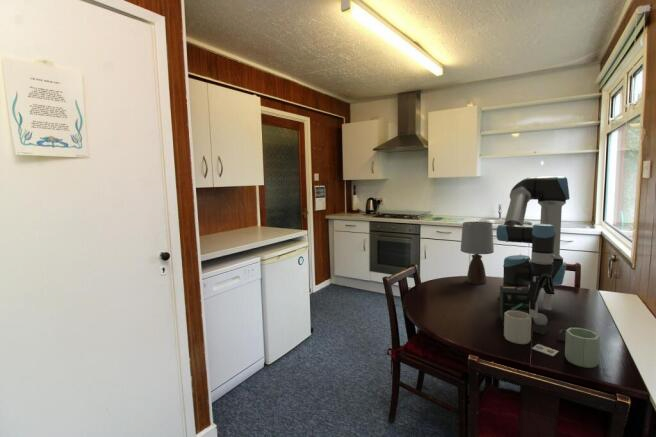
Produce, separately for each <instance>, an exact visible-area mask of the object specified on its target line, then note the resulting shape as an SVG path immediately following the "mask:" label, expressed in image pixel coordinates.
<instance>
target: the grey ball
mask: <svg viewBox="0 0 656 437" xmlns="http://www.w3.org/2000/svg"><path fill="white" fill-rule="evenodd" d="M532 321H533V322H534V323H536V324H537V325H539V326H544V325H548V324H547V323H548V317H547V316H546V314H544V313H540V312H538V314H537V318H533V317H532Z"/></svg>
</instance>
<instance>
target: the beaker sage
mask: <svg viewBox="0 0 656 437" xmlns="http://www.w3.org/2000/svg"><path fill="white" fill-rule="evenodd" d="M565 330H566V338H565V341H564V343H565V344H564V345H565V346H564V357H565V359H566V361H568V363H570V364H573V365H574V366H578V367H581V368H587V369H592V368H596V367H598V364H599V360H600V359H599V358H600V341H601V340H600V337H601V335H599V334H598V333H597V332H595V331H593V330H589V329H586V328H581V327H568V328H567V329H565Z"/></svg>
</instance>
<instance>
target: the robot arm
mask: <svg viewBox="0 0 656 437" xmlns="http://www.w3.org/2000/svg"><path fill="white" fill-rule="evenodd" d="M509 200H510V201H509V205H508V207H507V213H506V216H505V220H504V222H503V224H498V225H497V227H496V233H495V235H496V240H498V241H500V242H506V243H519V244H520V243H524V244H531V257H530V256H529V255H525V254H515V255H509V256H508V255H507V256H506V257H504V259H503V266H502V267H503V278H502V279H503V282H502V286H511V287H527V289H528V290H529V292H528V296H527V300H528V301H530V304H529V315H530V316H531V318H532V319H533V318H537V314H538V313H539V312H538V311H539V309H538V308H539V302H538V299H539V296H540V294H541V290H542V289H543V291H544V293H543V307H542V309H544V310H549V311H551V310H552V297H553V295H554V296H555V287H557V286H561V285H563V282H564V278H565V275H566V274H565V273H566V268H567V262H565V261H564V258H563V257H562V256H561V255H560V253H561V252H560V251H561V232H562V230H561V229H562V212H563V210H562V209H563V206H564V205H566V204H567V201H569V200H570V190H569V180H568V178H567V177H566V176H562V175H561V176H560V175H559V176H558V175H553V176H552V175H551V176H531V177H526V178H524V179H522V180H520V181H519V182H517V183H516V184H515V185H514V186H512V188H511V190H510V193H509ZM531 200H537V204H538V205H539V206H540V221H539V223H536V224H535V223H534V224H533V225H524V222H525V217H526V212H527V206H528V203H529V202H530V201H531ZM498 294H499V296H498V298H499V299H500V292H499V293H498Z"/></svg>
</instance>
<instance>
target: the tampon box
mask: <svg viewBox="0 0 656 437" xmlns="http://www.w3.org/2000/svg"><path fill="white" fill-rule="evenodd" d="M528 292H529V290H528V289H527V287H511V286H503V285H500V287H499V293H500V298H499V316H500V318H501V321H502V324H503V325H504V313H505V312H507V311H508V310H513V311H521V312H525V313H528V314H529V304H530V301H528V300H527V296H528Z"/></svg>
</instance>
